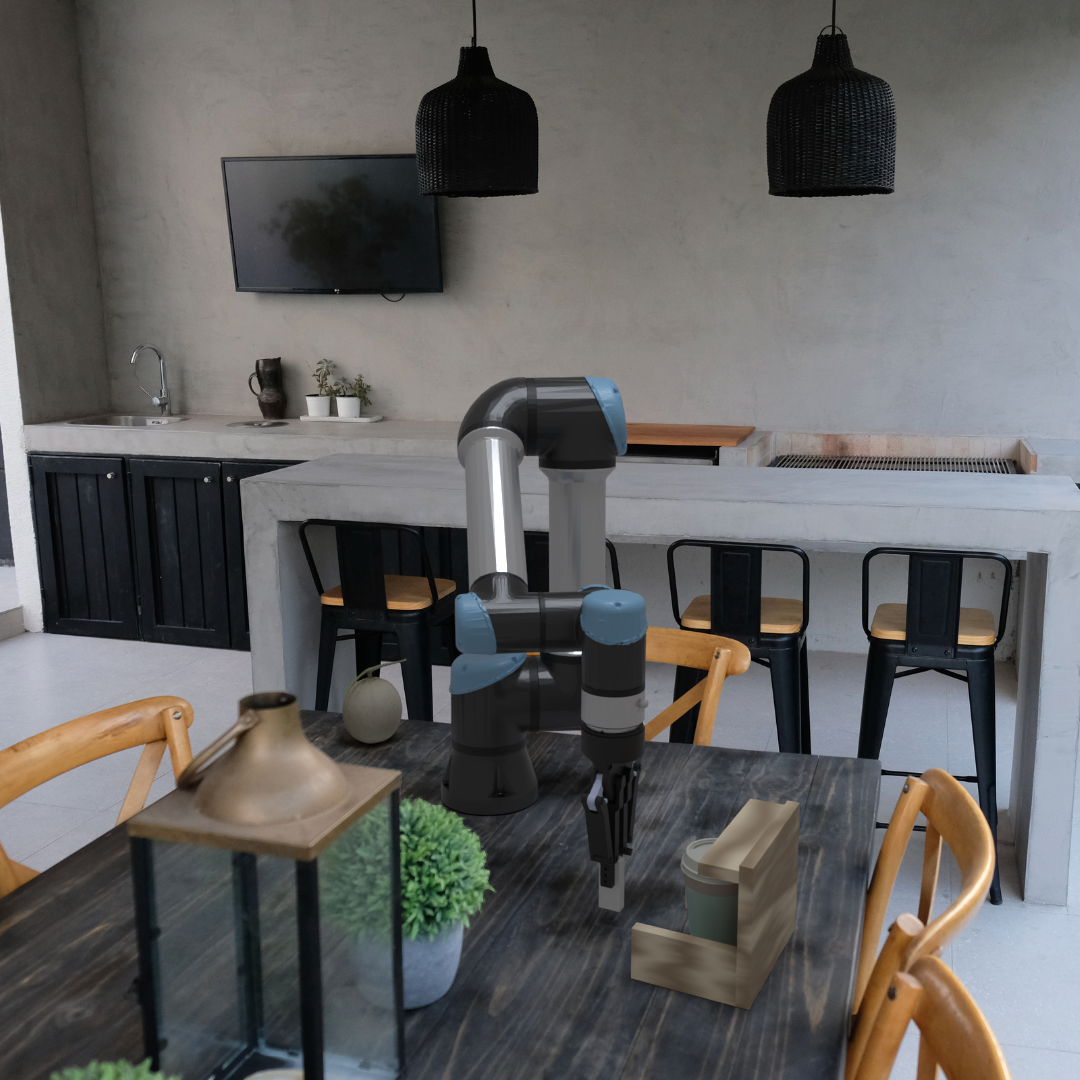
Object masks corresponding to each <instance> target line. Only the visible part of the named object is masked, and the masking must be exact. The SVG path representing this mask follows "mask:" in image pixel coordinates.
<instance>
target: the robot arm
mask: <svg viewBox="0 0 1080 1080" xmlns="http://www.w3.org/2000/svg"><path fill="white" fill-rule="evenodd" d="M626 420H627V419H626V414H625V407H624V403H623V397H622V395H621V392H620V389H619V387H618V385H617V383H616V382H614V381H613V379H611V378H607V377H598V376H597V377H596V376H595V377H594V376H586V375H583V376H563V377H561V376H559V377H558V376H556V377H554V376H553V377H552V376H550V377H549V376H548V377H547V376H546V377H539V376H538V377H525V376H518V377H517V376H516V377H511V378H507V379H504V380H501V381H499V382H497V383H495V384H493V385H492V386H490V387H488V388H487V389H486V390H484V392H482V393H481V394H480V395H479V396H478V397H477V398H476V399H475V401H473V402H472V404H471V405H470V406H469V408H468V410H467V412H466V413H465V414H464V416H463V419H462V421H461V423H460V426H459V430H458V435H457V439H456V440H457V442H456V451H457V460H458V462H459V464H460V465H461V466H462V468H463V469H464V473H465V474H464V475H465V476H464V479H465V503H466V504H465V505H466V532H467V533H466V536H467V563H468V564H467V565H468V591H469V592H468V593H462V594H461V593H460V594H458V595H457V596H456V597H455V598H454V621H455V622H454V624H455V625H454V627H455V647H456V649H457V651H459V652H460V653H462V654H460V655H459V656H457V657H456V658H455V659H454V661H453V662H452V664H451V667H450V683H449V687H448V692H449V693H450V741H451V742H450V743H451V744H450V746H451V749H450V750H451V751H450V753H449V755H448V756H449V757H448V759H447V763H446V767H445V768H444V772H443V776H442V779H441V782H440V799H441V801H442V803H443V804H444V805H445V806H447V807H448V808H450V809H452V810H454V811H457V812H460V813H465V814H468V815H469V814H470V815H480V816H481V815H483V816H494V815H504V814H505V815H506V814H509V813H510V814H511V813H514V812H518V811H521V810H524V809H526V808H528V807H530V806H531V805H533V804H534V803H535V802H536V801H537V799H538V796H539V791H538V790H539V789H538V787H539V784H538V778H537V776H536V772H535V769H534V766H533V763H532V760H531V757H530V754H529V752H528V749H527V733H543V732H545V733H546V732H549V733H550V732H572V731H573V732H575V731H577V732H580V735H581V736H580V741H581V742H580V747H581V748H580V751H581V753H582V755H583V756H584V757H585V758H586V759H588V760H590V762H591V763H592V770H591V776H590V782H591V783H590V784H591V785H592V787H591V790H590V793H586V792H585V793H582V795H581V798H580V802H581V804H582V808H583V810H584V815H585V825H586V826H585V827H586V833H587V834H586V835H587V841H588V850H589V851H588V852H589V858H590V859H589V860H590V861H592V862H596V863H598V908H601V909H606V910H609V911H613V912H617V913H620V912H622V910H623V908H624V907H625V863H626V862H625V861H626V860H625V858H626V856H627V857H630V856H632V854H633V851H634V848H631V847H628V844H629V845H630V844H632V843H633V839H634V830H635V819H636V809H637V797H638V788H639V780H640V777H641V772H642V768H643V765H642V762H638V761H637V760H639V759H640V758H642V757H643V756H644V754H645V748H646V746H645V745H646V726H645V725H644V724H643V722H644V721H645V717H646V712H645V711H646V709H647V708H648V707H649V701H648V699H646V661H647V659H646V657H647V655H646V654H647V652H646V650H647V631H648V628H649V621H648V619H647V604H646V600H645V598H644V597H643V596H642V595H641V594H639V593H638V592H637V593H636V592H633V591H631V590H627V589H626V590H625V589H613V588H612V587H610V586H607V585H606V542H607V541H606V534H607V533H606V532H607V531H606V530H607V528H606V511H607V509H606V507H607V506H606V504H607V503H606V501H607V500H606V496H607V495H606V494H607V493H606V492H607V491H606V487H607V486H606V485H607V484H606V483H607V478H608V476H610V475H611V474H612V472H614V471H615V469H616V468H617V457H621V456H624V455H625V454H626V453H627V450H628V443H627V442H628V432H627V431H628V430H627V421H626ZM524 456H525V457H538V469H539V470H540V471H541V473H542V474H544V476H546V477H547V480H548V551H549V552H548V559H549V561H548V562H549V563H548V568H549V569H548V571H549V573H548V574H549V576H548V577H549V579H548V580H549V582H548V585H549V587H548V589H549V591H547V592H546V591H544V592H543V591H538V592H536V591H535V592H534V591H531V592H529V585H528V573H527V562H526V561H527V557H526V548H525V547H526V545H525V532H524V522H523V521H524V519H523V510H522V509H523V507H522V494H521V485H520V484H521V483H520V482H521V481H520V470H519V467H520V465H521V464H522V462H523V459H524ZM529 653H530V654H531V653H533V654H534V653H539V655H534V656H533V655H530V656H528V654H529ZM624 855H625V856H624Z"/></svg>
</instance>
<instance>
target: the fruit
mask: <svg viewBox="0 0 1080 1080" xmlns="http://www.w3.org/2000/svg"><path fill="white" fill-rule="evenodd" d="M406 661H407V658H404V659H401V660H397V661H391V662H387V663H382V664H377V665H375V666H372V667H368V668H366V669H364V671H362V672H361V673H360V674H359V675H357V677H355V679H353V681H352V682H351V683H350V684H349V686H348V688H347V690H346V692H345V695H344V698H343V702H342V707H341V708H342V709H341V712H342V713H341V715H342V719H343V720H342V721H343V724H344V726H345V728H346V730H347V732H348V733H349V735H351V737H353V738H354V739H355V740H357V741H359V742H362V743H364V744H376V743H382V742H384V741H387V740H388V739H389V738H391V737H392V736H393V735H394V734H395V733H396V732H397V730H398V728H399V726H400V724H401V721H402V715H403V704H402V703H403V702H402V699H401V695H400V693H399V691H398V690H397V688H396V687H395V686H394V685H393V684H392V683H391V682H390V681H389V680H387V679H384V678H382V677H379V676H378V677H377V676H374V677H373V674H372V673H373V672H374V671H376V670H378V669H381V668H384V667H388V666H391V665H396V664H399V663H403V662H406ZM365 674H366V675H367V677H366V678H362V679H361V677H363V676H364V675H365ZM359 679H361V680H359Z"/></svg>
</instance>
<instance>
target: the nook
mask: <svg viewBox="0 0 1080 1080" xmlns="http://www.w3.org/2000/svg"><path fill="white" fill-rule="evenodd" d="M800 809H801V802H797V801H793V800H786V802H785V803H784V804H781V803H777V802H772V801H766V800H761V799H756V798H755V799H754V798H750V799H749V800H748V801H747V802H746V803H745V805H743V807H742V808H741V809H740V811H739V812H738V813H736V816H735V817H734V818H732V819H731V821H730V823H729V824H728V825H727V827H726V828H725V829H724V830H723V831H722V832H721V834H720V835H719V836H718V837H717V838H718V839H717V840H716V841H715V842H714V843H713V845H712V846H711V847H710V848H709V849H708V851H707V852H706V853H705V854H704V856H703V857H702V858H701V859H700V860H699V862H698V875H701V876H706V877H710V878H715V879H719V880H724V881H729V882H733V883H738V884H739V892H738V928H737V947H736V946H732V945H728V944H724V943H720V942H716V941H712V940H708V939H703V938H699V937H695V936H691V935H690V934H686V933H683V932H678V931H674V930H670V929H666V928H662V927H658V926H654V925H649V924H645V923H640V922H635V923H634V924H633V926H632V927H631V929H630V931H631V936H630V938H631V940H630V941H631V942H630V944H631V947H630V951H631V953H630V979H633V980H636V981H639V982H644V983H647V984H651V985H654V986H658V987H663V988H666V989H670V990H674V991H677V992H680V993H684V994H687V995H691V996H695V997H699V998H703V999H707V1000H710V1001H713V1002H717V1003H720V1004H721V1003H722V1004H725V1005H729V1006H732V1007H737V1008H740V1009H742V1010H743V1009H745V1010H748V1011H749V1010H750V1009H751V1007H752V1005H753V1004H754V1003H755V1000H756V998H757V997H758V996H759V993H760V991H761V990H762V988H763V986H764V984H765V983H766V981H767V979H768V977H769V976H770V974H771V973H772V970H774V967H775V965H776V964H777V962H778V960H779V957H780V956H781V955H782V952H783V951H784V949H785V947H786V946H787V943H788V942H789V940H790V939H791V937H792V935H793V933H794V932H795V929H796V927H797V926H796V921H797V900H798V899H797V896H798V895H797V894H798V869H799V868H798V867H799V845H800V844H799V843H800V842H799V841H800V840H799V838H800V816H801V814H800V811H801V810H800ZM684 897H685V898H684V900H685V901H684V905H685V906H684V909H685V910H687V900H686V890H685V895H684Z"/></svg>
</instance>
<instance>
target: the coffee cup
mask: <svg viewBox="0 0 1080 1080" xmlns="http://www.w3.org/2000/svg"><path fill="white" fill-rule="evenodd" d="M717 839H718V837H709V838H707V837H706V838H701V839H697V840H695V841H692V842H690V843H689V844H688V845H687V846H686V848H685V851H684V854H683V855H682V857H681V862H680V869H681V871H682V872H683V878H684V889H685V890H686V900H687V909H686V910H687V918H688V919H687V920H688V929H689V930H688V931H689V935H691V936H695V937H699V938H703V939H708V940H712V941H716V942H720V943H724V944H728V945H732V946H736V947H737V928H738V892H739V884H738V883H733V882H729V881H724V880H719V879H715V878H710V877H706V876H701V875H698V862H699V860H700V859H701V858H702V857H703V856H704V854H705V853H706V852H707V851H708V849H709V848H710V847H711V846H712V845H713V843H714V842H715V841H716V840H717Z"/></svg>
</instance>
